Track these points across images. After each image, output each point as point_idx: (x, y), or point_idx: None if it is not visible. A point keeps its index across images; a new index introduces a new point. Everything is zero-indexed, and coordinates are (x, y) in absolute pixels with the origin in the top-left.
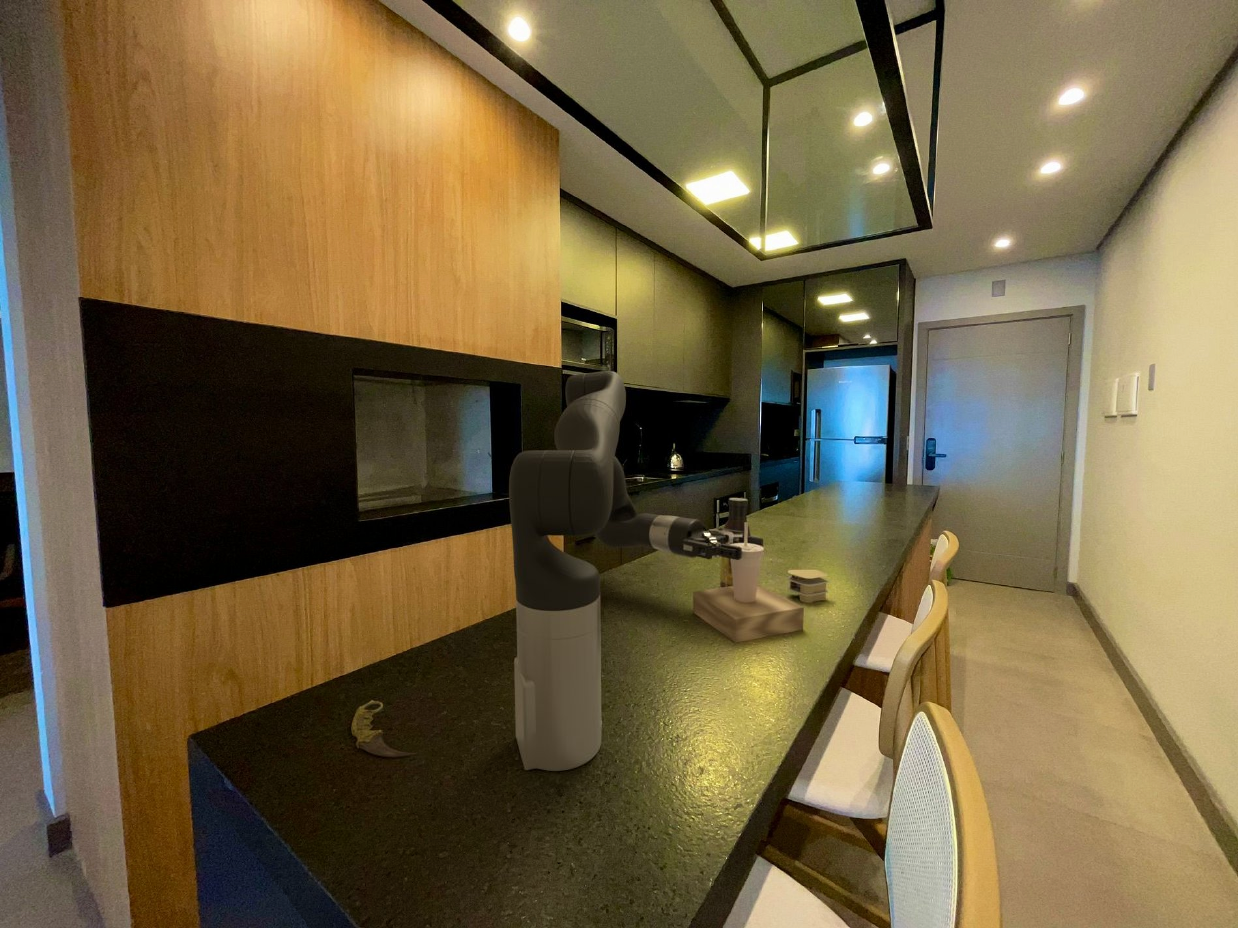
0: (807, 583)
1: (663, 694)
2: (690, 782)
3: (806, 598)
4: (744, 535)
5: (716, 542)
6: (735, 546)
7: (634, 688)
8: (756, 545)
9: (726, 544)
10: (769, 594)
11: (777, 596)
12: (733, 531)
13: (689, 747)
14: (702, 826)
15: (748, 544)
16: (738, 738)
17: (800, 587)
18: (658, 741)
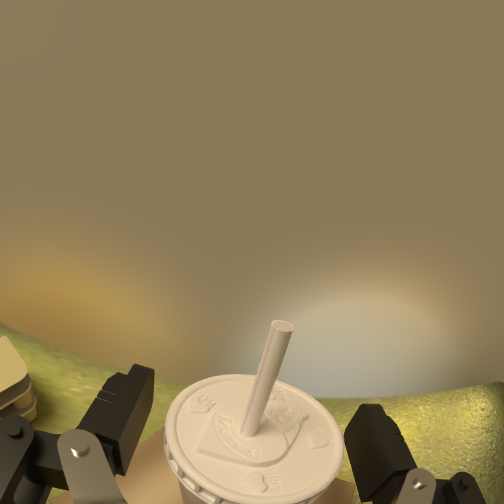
0: (23, 382)
1: (483, 471)
2: (489, 407)
3: (34, 408)
4: (267, 398)
5: (426, 481)
6: (377, 417)
7: (501, 488)
8: (197, 398)
9: (388, 455)
10: (139, 469)
11: (146, 452)
12: (6, 490)
13: (483, 422)
14: (490, 393)
15: (215, 424)
16: (453, 411)
17: (18, 401)
18: (498, 434)
